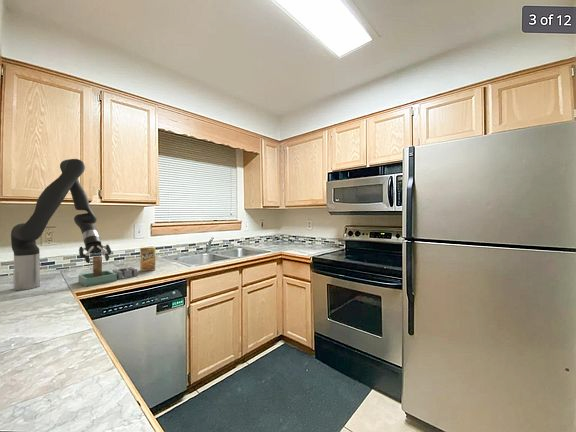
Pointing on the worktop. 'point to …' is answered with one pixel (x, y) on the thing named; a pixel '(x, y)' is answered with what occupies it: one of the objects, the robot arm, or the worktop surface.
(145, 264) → the candy box
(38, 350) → the worktop surface
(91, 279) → the tray
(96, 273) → the wooden pin
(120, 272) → the socket block
